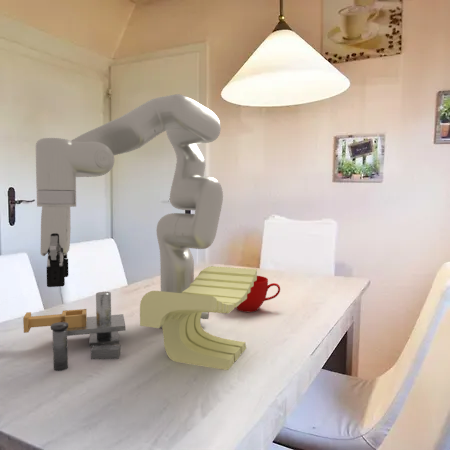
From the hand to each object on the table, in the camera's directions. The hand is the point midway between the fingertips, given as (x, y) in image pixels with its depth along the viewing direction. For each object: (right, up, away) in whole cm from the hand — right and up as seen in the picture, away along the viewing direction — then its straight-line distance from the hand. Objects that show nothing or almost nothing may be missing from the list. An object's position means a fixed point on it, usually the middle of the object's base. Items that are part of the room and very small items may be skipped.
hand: (58, 281), depth 83 cm
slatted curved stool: (+30, -18, +9) cm, 37 cm away
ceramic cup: (+44, -16, +46) cm, 66 cm away
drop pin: (0, -19, +1) cm, 19 cm away
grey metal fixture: (+2, -17, +17) cm, 24 cm away
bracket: (-6, -13, +14) cm, 20 cm away
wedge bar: (+8, -18, +7) cm, 21 cm away
